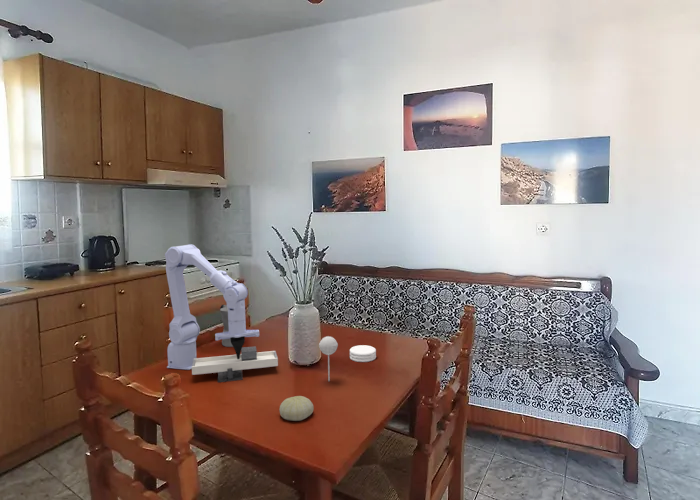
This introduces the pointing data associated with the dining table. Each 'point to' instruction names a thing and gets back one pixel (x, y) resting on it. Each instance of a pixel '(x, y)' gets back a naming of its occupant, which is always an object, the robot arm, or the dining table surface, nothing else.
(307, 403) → the sea urchin shell
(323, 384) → the dining table surface
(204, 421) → the dining table surface
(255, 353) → the grey block
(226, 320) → the coffeepot
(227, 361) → the beam
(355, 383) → the dining table surface
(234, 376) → the stand
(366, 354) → the coaster
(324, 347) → the lollipop
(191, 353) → the robot arm
